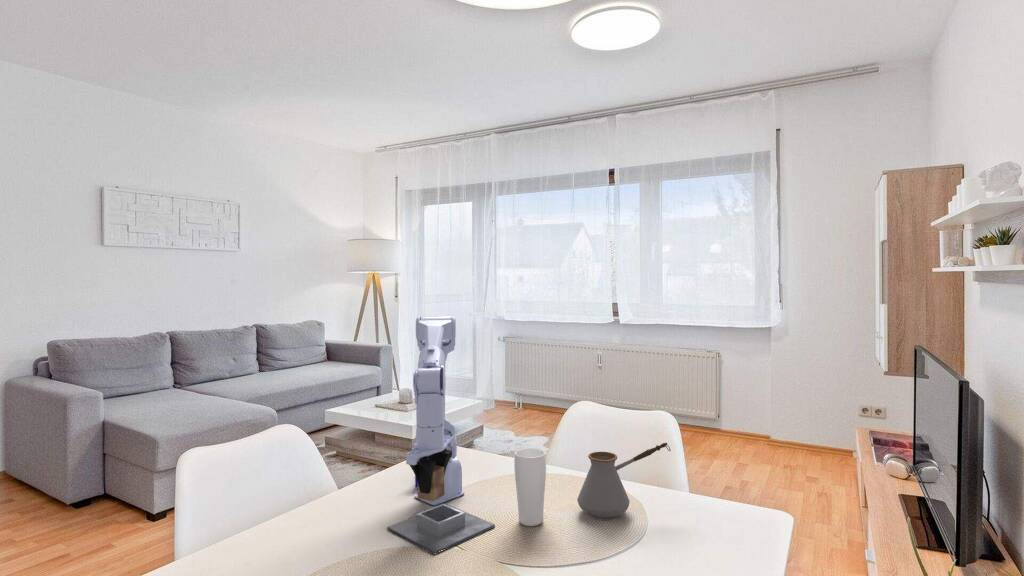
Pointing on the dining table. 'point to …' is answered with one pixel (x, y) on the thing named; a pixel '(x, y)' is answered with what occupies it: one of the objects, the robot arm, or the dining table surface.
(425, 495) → the rail end post
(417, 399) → the robot arm
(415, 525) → the grey square socket base
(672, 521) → the dining table surface
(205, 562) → the dining table surface
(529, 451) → the drinking glass
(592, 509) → the coffee pot
